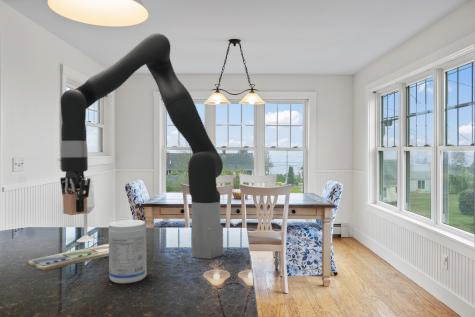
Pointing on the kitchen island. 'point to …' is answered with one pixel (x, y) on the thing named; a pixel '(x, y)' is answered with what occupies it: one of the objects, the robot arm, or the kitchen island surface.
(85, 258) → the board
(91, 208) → the champagne flute
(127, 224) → the supplement tub
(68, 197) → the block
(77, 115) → the robot arm
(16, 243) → the kitchen island surface
